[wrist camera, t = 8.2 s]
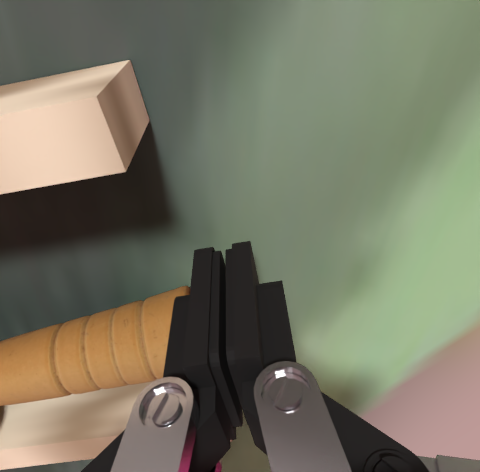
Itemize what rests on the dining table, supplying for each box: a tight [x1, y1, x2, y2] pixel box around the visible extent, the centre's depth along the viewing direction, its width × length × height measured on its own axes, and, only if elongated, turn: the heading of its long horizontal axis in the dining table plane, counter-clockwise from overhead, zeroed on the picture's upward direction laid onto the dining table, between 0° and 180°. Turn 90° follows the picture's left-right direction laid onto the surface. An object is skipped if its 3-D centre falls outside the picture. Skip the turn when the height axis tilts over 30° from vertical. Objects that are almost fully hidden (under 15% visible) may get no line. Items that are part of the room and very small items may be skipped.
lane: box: [0, 60, 232, 470], centre depth 12 cm, size 10×13×3 cm
